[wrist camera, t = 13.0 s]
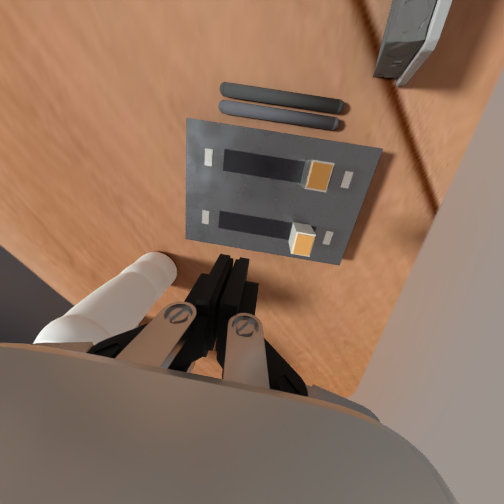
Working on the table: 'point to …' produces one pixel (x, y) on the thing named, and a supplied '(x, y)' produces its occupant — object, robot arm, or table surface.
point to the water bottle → (114, 303)
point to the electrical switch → (410, 37)
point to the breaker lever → (301, 239)
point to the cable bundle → (280, 99)
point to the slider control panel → (273, 188)
